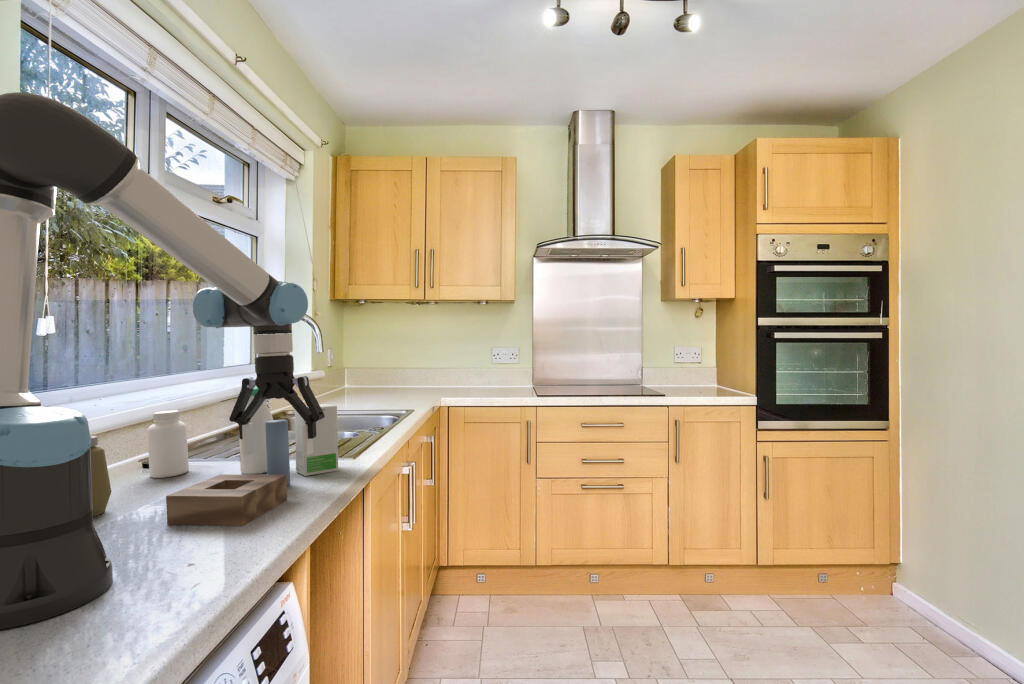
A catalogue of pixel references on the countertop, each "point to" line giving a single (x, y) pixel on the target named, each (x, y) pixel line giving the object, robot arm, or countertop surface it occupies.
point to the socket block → (226, 500)
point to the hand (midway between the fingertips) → (278, 454)
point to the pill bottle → (167, 445)
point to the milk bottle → (256, 441)
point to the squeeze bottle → (99, 478)
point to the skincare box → (318, 444)
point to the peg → (278, 448)
